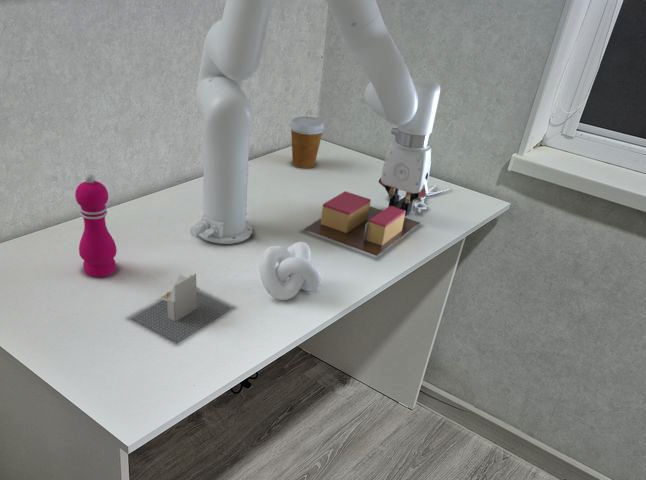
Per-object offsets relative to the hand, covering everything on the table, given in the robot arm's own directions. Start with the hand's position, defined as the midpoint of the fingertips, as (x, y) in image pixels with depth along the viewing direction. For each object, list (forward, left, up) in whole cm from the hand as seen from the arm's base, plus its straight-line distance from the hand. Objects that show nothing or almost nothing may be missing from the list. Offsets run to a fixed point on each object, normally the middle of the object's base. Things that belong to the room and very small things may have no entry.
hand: (398, 214), depth 155 cm
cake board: (-10, +4, -2) cm, 11 cm away
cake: (-11, +8, -1) cm, 14 cm away
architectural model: (-64, +12, -2) cm, 65 cm away
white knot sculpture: (-45, +2, -2) cm, 45 cm away
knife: (-6, 0, -1) cm, 6 cm away
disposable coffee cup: (+15, +37, -2) cm, 40 cm away
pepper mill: (-63, +35, -2) cm, 72 cm away
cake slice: (-11, -2, -1) cm, 11 cm away
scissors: (+17, +1, -2) cm, 17 cm away
